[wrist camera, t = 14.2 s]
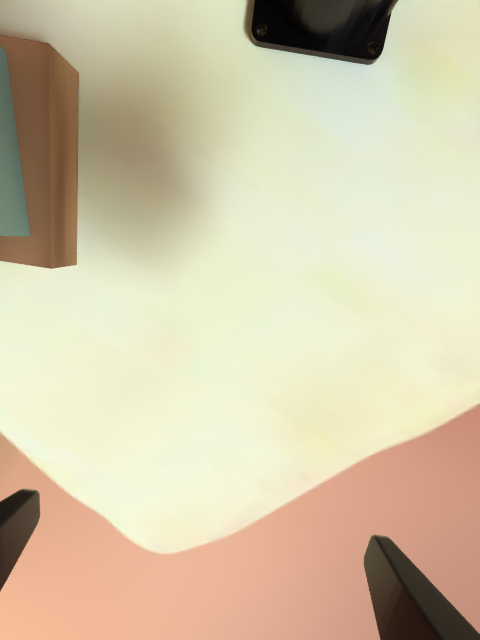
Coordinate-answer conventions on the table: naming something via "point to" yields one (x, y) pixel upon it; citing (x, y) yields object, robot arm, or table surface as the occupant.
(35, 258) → the tower base
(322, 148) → the table surface
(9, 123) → the tower top
